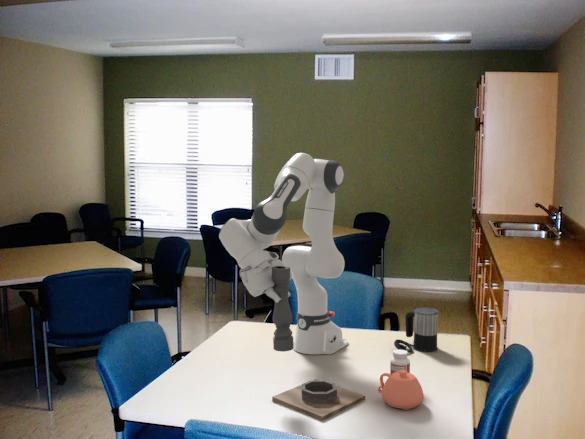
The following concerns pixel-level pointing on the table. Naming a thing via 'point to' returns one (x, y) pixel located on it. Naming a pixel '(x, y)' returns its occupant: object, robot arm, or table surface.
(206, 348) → the table surface
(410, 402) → the sugar bowl
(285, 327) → the candle holder
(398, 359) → the pill bottle
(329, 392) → the candle dish
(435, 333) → the milk frother
